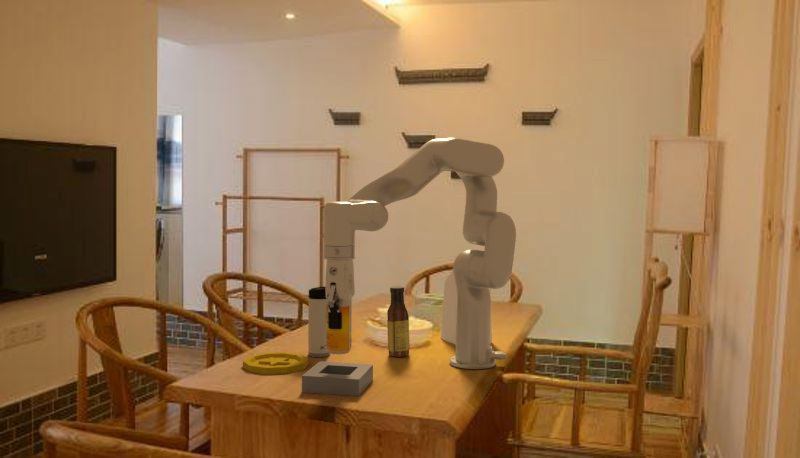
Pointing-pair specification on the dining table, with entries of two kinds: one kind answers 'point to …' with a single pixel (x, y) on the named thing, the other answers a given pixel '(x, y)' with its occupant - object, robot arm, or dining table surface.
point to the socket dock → (337, 378)
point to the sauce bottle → (398, 324)
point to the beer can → (340, 330)
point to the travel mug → (317, 322)
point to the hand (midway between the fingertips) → (339, 325)
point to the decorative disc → (275, 362)
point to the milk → (451, 311)
